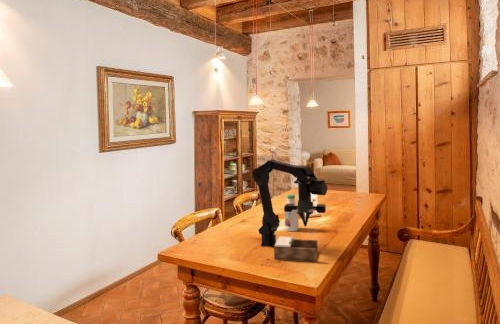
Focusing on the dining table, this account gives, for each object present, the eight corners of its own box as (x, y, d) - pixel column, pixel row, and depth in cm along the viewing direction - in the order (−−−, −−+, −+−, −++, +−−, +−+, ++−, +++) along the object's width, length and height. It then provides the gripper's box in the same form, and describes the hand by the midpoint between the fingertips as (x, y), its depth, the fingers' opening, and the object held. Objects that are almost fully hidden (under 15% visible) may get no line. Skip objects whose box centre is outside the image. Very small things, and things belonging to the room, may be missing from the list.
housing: (274, 259, 169) (273, 247, 168) (279, 249, 180) (278, 238, 180) (315, 261, 164) (315, 249, 163) (317, 252, 175) (317, 240, 175)
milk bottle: (297, 227, 215) (296, 193, 213) (299, 231, 208) (298, 196, 205) (284, 227, 215) (283, 194, 213) (286, 232, 208) (284, 196, 205)
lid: (274, 246, 168) (274, 242, 168) (279, 238, 179) (279, 234, 179) (290, 247, 166) (290, 242, 166) (293, 238, 177) (293, 234, 177)
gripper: (281, 196, 166) (282, 230, 168) (324, 197, 161) (324, 232, 163) (285, 191, 177) (286, 223, 179) (325, 192, 172) (326, 224, 174)
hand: (305, 226), depth 173 cm, fingers closed
